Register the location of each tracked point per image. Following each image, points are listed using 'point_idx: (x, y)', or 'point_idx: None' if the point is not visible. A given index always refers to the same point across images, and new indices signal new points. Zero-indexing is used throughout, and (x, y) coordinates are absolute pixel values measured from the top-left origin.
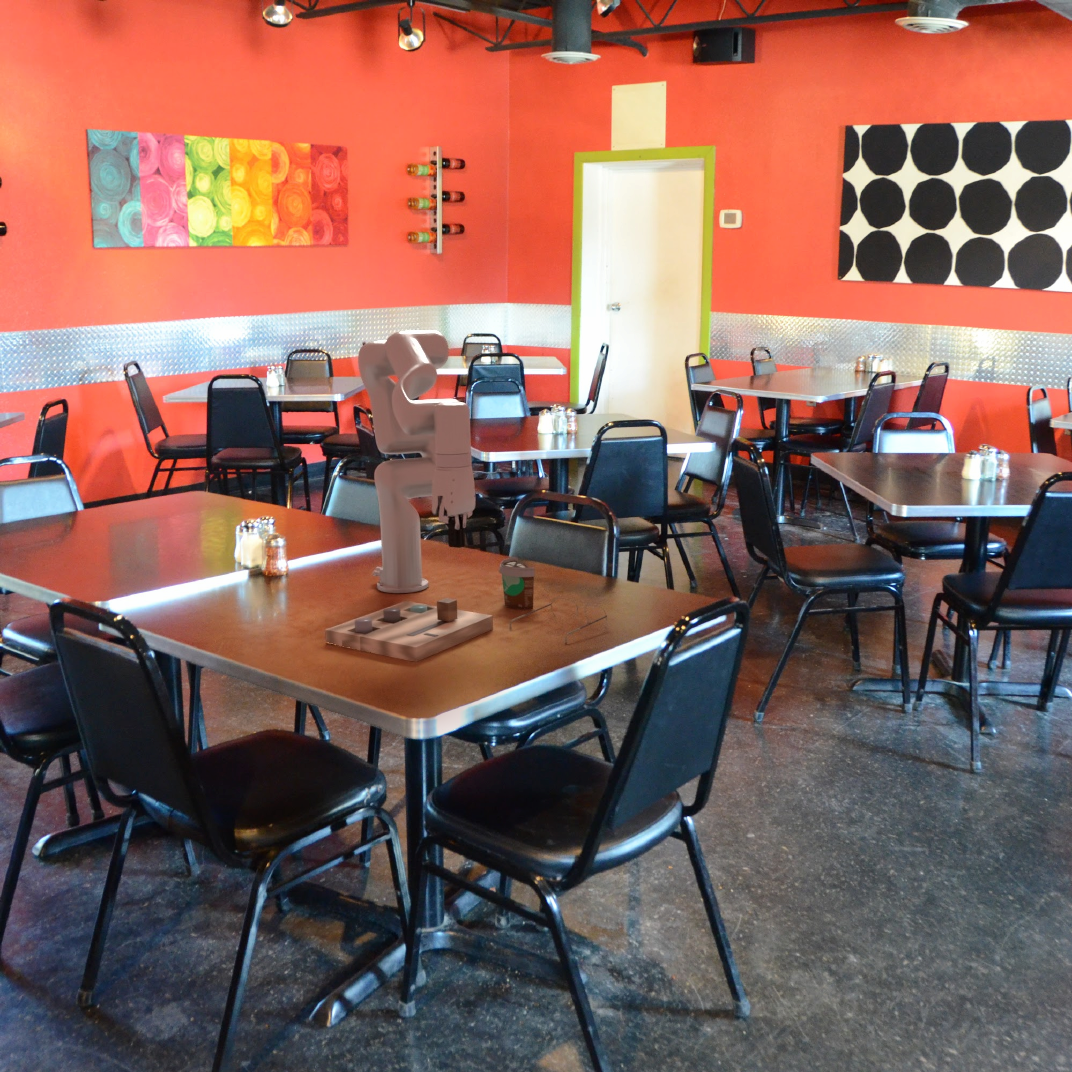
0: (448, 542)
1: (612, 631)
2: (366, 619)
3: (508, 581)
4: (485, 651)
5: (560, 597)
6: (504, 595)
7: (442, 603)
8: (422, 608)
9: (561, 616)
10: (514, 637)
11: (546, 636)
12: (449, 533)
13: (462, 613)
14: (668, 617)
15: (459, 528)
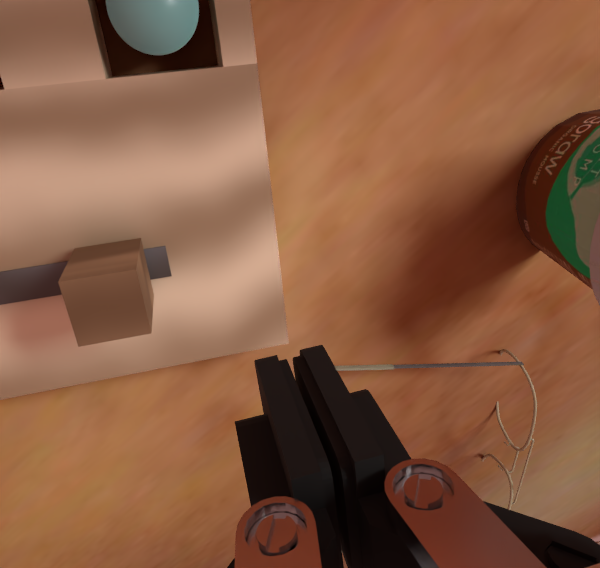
0: (259, 376)
1: None
2: None
3: (586, 210)
4: (82, 465)
5: (535, 409)
6: (564, 149)
7: (69, 312)
8: (146, 49)
9: (503, 368)
10: None
11: None
12: (249, 488)
13: (238, 237)
14: (594, 532)
15: (362, 558)
